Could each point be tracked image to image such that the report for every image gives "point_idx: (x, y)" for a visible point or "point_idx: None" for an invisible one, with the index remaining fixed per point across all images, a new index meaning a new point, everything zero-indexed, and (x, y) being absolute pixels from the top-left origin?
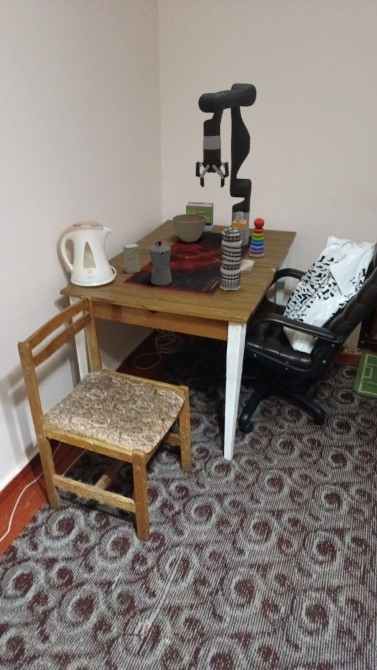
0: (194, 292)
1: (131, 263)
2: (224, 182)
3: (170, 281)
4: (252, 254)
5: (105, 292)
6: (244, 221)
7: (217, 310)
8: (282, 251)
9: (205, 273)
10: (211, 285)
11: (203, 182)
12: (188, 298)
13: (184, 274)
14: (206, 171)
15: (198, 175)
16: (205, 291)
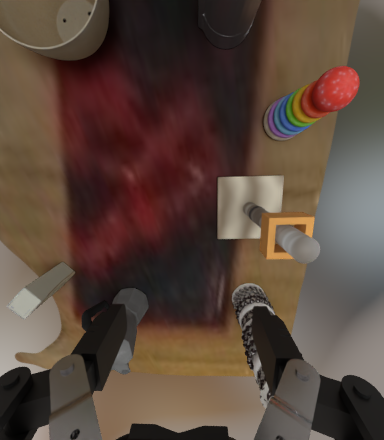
0: (197, 327)
1: (54, 292)
2: (289, 341)
3: (147, 306)
4: (275, 137)
5: None
6: (306, 234)
7: (243, 368)
8: (346, 65)
9: (193, 252)
10: (216, 298)
11: (114, 343)
12: (194, 346)
13: (157, 265)
14: (91, 429)
15: (38, 414)
16: (212, 320)
